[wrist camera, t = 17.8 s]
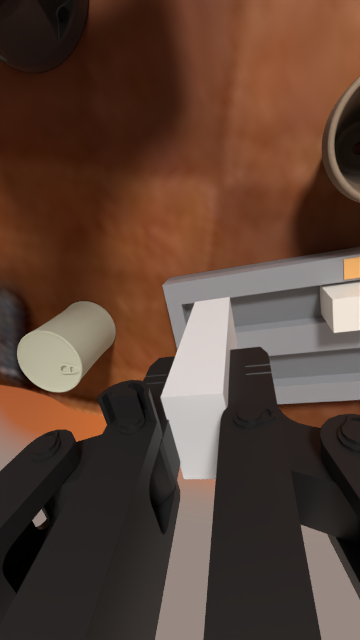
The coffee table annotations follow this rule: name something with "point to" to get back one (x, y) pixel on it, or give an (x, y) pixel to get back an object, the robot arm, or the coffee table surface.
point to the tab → (341, 305)
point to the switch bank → (283, 320)
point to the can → (66, 346)
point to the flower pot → (344, 143)
